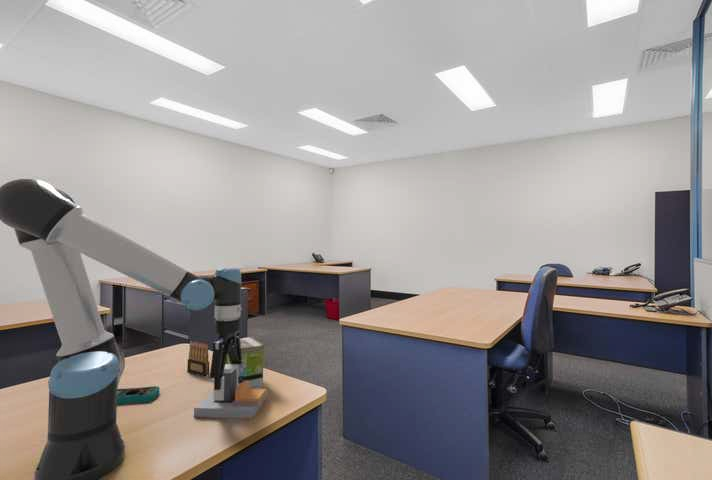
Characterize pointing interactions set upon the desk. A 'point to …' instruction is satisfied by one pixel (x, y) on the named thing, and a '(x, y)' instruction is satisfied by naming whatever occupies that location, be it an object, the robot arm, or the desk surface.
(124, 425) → the desk surface
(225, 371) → the plug
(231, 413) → the socket plate
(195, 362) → the ammunition clip
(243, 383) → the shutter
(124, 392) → the digital multimeter
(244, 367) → the tea box
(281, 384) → the desk surface
